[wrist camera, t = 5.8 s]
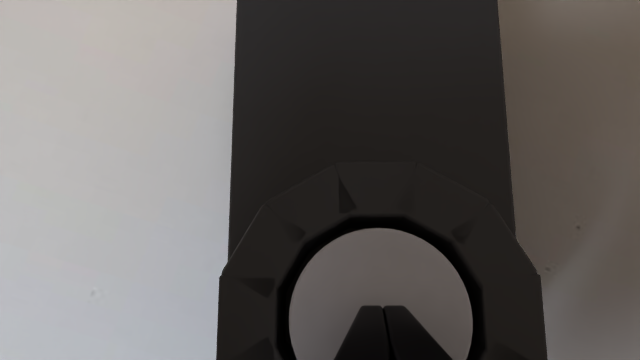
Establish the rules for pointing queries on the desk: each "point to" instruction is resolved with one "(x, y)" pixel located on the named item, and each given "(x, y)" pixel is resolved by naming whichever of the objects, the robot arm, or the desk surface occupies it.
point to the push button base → (371, 160)
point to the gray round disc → (377, 291)
